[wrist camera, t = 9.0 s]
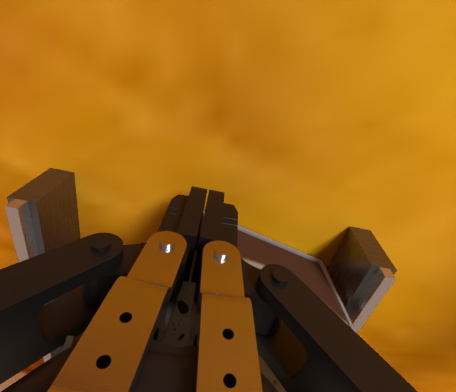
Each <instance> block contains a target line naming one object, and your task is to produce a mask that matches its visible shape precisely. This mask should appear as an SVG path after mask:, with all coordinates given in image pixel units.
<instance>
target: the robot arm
mask: <svg viewBox="0 0 456 392" xmlns="http://www.w3.org/2000/svg"><path fill="white" fill-rule="evenodd" d="M206 193H207V189H203V188H198V187H193V186H192V188H191V191H190V194H189V196H184V195H177V196H176V197H174V198H173V199H172V200H171V202H170V204H169V207H168V209H167V211H166V214H165V216H164V218H163V221H162V223H161V226H160V228H159V230H158V232H157V233H155V234H153V235H152V236H151V237H150V238H149V239H148V241H147V242H146V243H142V244H136V245H123V241H122V240H121V239H120V238H119V237H118V236H116V235H114V234H110V233H97V234H93V235H90V236H87V237H84V238H82V239H79V240H77V241H74V242H71V243H69V244H66V245H63V246H61V247H58V248H56V249H53V250H50V251H48V252H45V253H42V254H40V255H37V256H35V257H32V258H29V259H27V260H24V261H21V262H19V263H16V264H14V265H11V266H8V267H6V268H3V269H1V270H0V384H1V383H3V382H5V381H6V380H8V379H9V378H11V377H12V376H14V375H16V374H17V373H19V372H20V371H22V370H24V369H25V368H27V367H28V366H30V365H32V364H33V363H35V362H36V361H38V360H40V359H41V358H43V357H44V356H46V355H48V354H49V353H51V352H52V351H54V350H55V349H57V348H59V347H60V346H62V345H63V344H65V341H66V338H67V336H74V338H75V337H76V336H78V335H79V334H81V333H83V332H84V331H85V332H84V333H83V335H82V336H81V338H80V340H79V341H78V343H77V345H75V346H72V347H70V348H68V349H66V350H64V351H62V352H60V353H58V354H57V355H55V356H54V357H52V358H50V359H49V360H48V361H46V362H45V363H43V364H42V365H40V366H39V367H37V368H36V369H34V370H33V371H31V372H30V373H28V374H27V375H25V376H24V377H22V378H21V379H19V380H18V381H16V382H15V383H13V384H12V385H10V386H9V387H7V388H6V389H5V390H3V391H2V392H278V391H277V389H276V388H275V387H274V385H273V384H272V383H271V382H270V381H269V379H268V378H267V377H265V376H264V375H263V374H262V373H261V372H260V367H259V359H258V353H259V355H260V356H261V357H262V359H263V360H264V361H265V363H266V364H267V366H268V367H269V368H270V370H271V371H272V372H273V374H274V375H275V377H276V378H277V379H278V381H279V382H280V383H281V385H282V386H283V388H284V389H285V390H286V392H417V391H416V390H415V389H414V388H413V387H412V386H411V385H410V384H409V383H408V382H407V381H406V380H405V379H404V378H403V377H402V376H401V375H400V374H399V373H397V372H396V371H395V370H394V369H393V368H392V367H391V366H390V365H389V364H388V363H387V362H386V361H385V360H384V359H383V358H382V357H381V356H380V355H379V354H378V353H377V352H376V351H374V350H373V349H372V348H371V347H370V346H369V345H368V344H367V343H366V342H365V341H364V340H363V339H362V338H361V337H360V336H359V335H358V334H357V333H356V332H355V331H354V330H353V329H351V328H350V327H349V326H348V325H347V324H346V323H345V322H344V321H343V320H342V319H341V318H340V317H339V316H338V315H337V314H336V313H335V312H334V311H333V310H332V309H331V308H330V307H328V306H327V305H326V304H325V303H324V302H323V301H322V300H321V299H320V298H319V297H318V296H317V295H316V294H315V293H314V292H313V291H312V290H311V289H310V288H309V287H308V286H307V285H305V284H304V283H303V282H302V281H301V280H300V279H299V278H298V277H297V276H296V275H295V274H294V273H293V272H292V271H291V270H289V269H288V268H286V267H284V266H281V265H278V264H268V265H266V266H264V267H263V268H262V269H259V268H257V267H255V266H252V265H250V264H249V263H247V262H246V261H244V260H243V259H242V258H241V256H240V252H239V250H238V249H237V235H238V226H237V225H238V212H237V210H236V208H235V207H234V205H231V204H226V203H223V202H224V192H219V191H214V190H209V194H208V199H207V204H206V209H205V214H204V219H203V224H202V229H201V234H200V239H199V244H198V249H197V254H196V259H195V264H194V270H193V275H192V280H191V282H193V283H196V286H195V291H194V296H193V301H192V312H191V322H190V333H189V344H188V346H187V347H171V346H168V345H166V344H164V339H165V336H166V333H167V330H168V327H169V324H170V321H171V318H172V315H173V312H174V309H175V306H176V303H177V300H178V296H179V293H180V291H181V288H182V284H183V281H187V282H188V281H189V277H190V272H191V267H192V262H193V258H194V253H195V248H196V244H197V239H198V234H199V229H200V225H201V220H202V214H203V209H204V204H205V199H206ZM79 286H81V287H80V288H78V289H76V288H77V287H79ZM74 289H76V290H74ZM72 290H74V291H72ZM70 291H72V292H70ZM68 292H70V293H68ZM66 293H68V294H66ZM64 294H66V295H64ZM62 295H64V296H62ZM60 296H62V297H60ZM58 297H60V298H58ZM56 298H58V299H56ZM54 299H56V300H54ZM52 300H54V301H52ZM50 301H52V302H50ZM48 302H50V303H48ZM47 303H48V304H47ZM45 304H46V305H45Z"/></svg>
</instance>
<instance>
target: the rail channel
mask: <svg viewBox="0 0 456 392" xmlns="http://www.w3.org/2000/svg"><path fill="white" fill-rule="evenodd" d="M7 199H8V204H7V205H6V206H5V209H6V213H7V217H8V221H9V225H10V229H11V233H12V237H13V241H14V245H15V249H16V253H17V257H18V261H19V262H21V261H24V260H27V259H29V258H32V257H35V256H37V255H40V254H42V253H45V252H48V251H50V250H53V249H56V248H58V247H61V246H63V245H66V244H69V243H71V242H74V241H77V240H79V239H80V231H79V220H78V210H77V199H76V189H75V178H74V173H73V172H68V171H63V170H58V169H53V168H50V169H48V170H47V171H45V172H44V173H42V174H41V175H39V176H38V177H36V178H35V179H33V180H32V181H30V182H29V183H27V184H26V185H24V186H23V187H21V188H20V189H18V190H17V191H15V192H14V193H12V194H11V195H9V196H8V197H7ZM327 271H328V273H329V275H330V277H331V280H332V282H333V284H334V286H335V288H336V290H337V292H338V294H339V297H340V299H341V301H342V303H343V305H344V307H345V309H346V311H347V313H348V316H349V318H350V320H351V322H352V324H353V326H354V328H355V330H356V332H357V333H358V331H359V330H360V328H361V327H362V326H363V324H364V323H365V322H366V320H367V319H368V317H369V316H370V315H371V313H372V312H373V310H374V309H375V308H376V306H377V305H378V303H379V302H380V301H381V299H382V298H383V297H384V295H385V294H386V292H387V291H388V290H389V288H390V287H391V285H392V284H393V283H394V281H395V280H396V278H395V276H394V274H395V272H396V271H397V270H396V268H395V267H394V265H393V264H392V262H391V261H390V259H389V258H388V256H387V255H386V253H385V252H384V250H383V249H382V247H381V246H380V244H379V243H378V241H377V240H376V238H375V237H374V235H373V234H372V232H371V231H370V230H365V229H360V228H355V227H349V229H348V231H347V233H346V235H345V236H344V238H343V240H342V242H341V244H340V246H339V248H338V250H337V252H336V254H335V255H334V257H333V259H332V261H331V263H330V265H329V267H328V269H327ZM80 287H81V286H79V287H77V288H76V289H78V288H80ZM76 289H74V290H76ZM74 290H72V291H74ZM72 291H70V292H72ZM70 292H68V293H70ZM68 293H66V294H68ZM66 294H64V295H66ZM64 295H62V296H64ZM62 296H60V297H62ZM60 297H58V298H60ZM58 298H56V299H58ZM56 299H54V300H56ZM54 300H52V301H54ZM52 301H50V302H52ZM50 302H48V303H50ZM48 303H47V304H48ZM45 305H46V304H45ZM84 332H85V331H84ZM84 332H83V333H84ZM83 333H81V334H79V335H78V336H76V337H75V338H74V339H73V344H72V346H75V345H77V343H78V341H79V340H80V338H81V336H82V335H83ZM63 347H64V344H63V345H62V346H60V347H59V348H57V349H55V350H54V351H52V352H51V353H49V354H48V355H46V356H44V357H43V359H44V363H45V362H46V361H48V360H49V359H50V358H52V357H54V356H55V355H57V354H58V353H60V352H62V350H63Z"/></svg>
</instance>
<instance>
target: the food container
mask: <svg viewBox="0 0 456 392" xmlns="http://www.w3.org/2000/svg"><path fill="white" fill-rule="evenodd" d="M204 214H205V211H203V214H202V220H201V225H200V229H199V234H198V239H197V244H196V248H195V253H194V258H193V262H192V267H191V272H190V277H189V281H188V282H187V281H183V284H182V288H181V291H180V293H179V296H178V300H177V303H176V306H175V309H174V312H173V315H172V318H171V321H170V324H169V327H168V330H167V333H166V336H165V339H164V344H166V345H168V346H171V347H187V346H188V344H189V333H190V322H191V312H192V301H193V296H194V291H195V286H196V283H193V282H191V280H192V275H193V270H194V264H195V259H196V254H197V249H198V244H199V239H200V234H201V229H202V224H203V219H204ZM237 226H238V235H237V249H238V250H239V252H240V256H241V258H242V259H243V260H244V261H246V262H247V263H249V264H250V265H252V266H255V267H257V268H259V269H262V268H263V267H264V266H266V265H268V264H278V265H281V266H284V267H286V268H288V269H289V270H291V271H292V272H293V273H294V274H295V275H296V276H297V277H298V278H299V279H300V280H301V281H302V282H303V283H304V284H305V285H307V286H308V287H309V288H310V289H311V290H312V291H313V292H314V293H315V294H316V295H317V296H318V297H319V298H320V299H321V300H322V301H323V302H324V303H325V304H326V305H327V306H328V307H330V308H331V309H332V310H333V311H334V312H335V313H336V314H337V315H338V316H339V317H340V318H341V319H342V320H343V321H344V322H345V323H346V324H347V325H348V326H349V327H350V328H351V329H353V330H354V331H355V332H356V330H355V328H354V326H353V324H352V322H351V320H350V318H349V316H348V313H347V311H346V309H345V307H344V305H343V303H342V301H341V299H340V297H339V294H338V292H337V290H336V288H335V286H334V284H333V282H332V280H331V277H330V275H329V273H328V271H327V269H326V267H325V265H324V263H323V261H322V260H320V259H318V258H315V257H313V256H310V255H308V254H306V253H303V252H301V251H299V250H296V249H294V248H291V247H289V246H287V245H284V244H282V243H280V242H277V241H275V240H272V239H270V238H268V237H265V236H263V235H260V234H258V233H256V232H253V231H251V230H249V229H246V228H244V227H241V226H239V225H237ZM356 333H357V332H356ZM73 339H74V336H67V338H66V341H65V344H64V347H63V350H62V351H64V350H66V349H68V348H70V347H72V344H73ZM258 359H259V367H260V372H261V373H262V374H263V375H264V376H265V377H267V378H268V379H269V381H270V382H271V383H272V384H273V385H274V387H275V388H276V389H277V391H278V392H286V390H285V389H284V388H283V386H282V385H281V383H280V382H279V381H278V379H277V378H276V377H275V375H274V374H273V372H272V371H271V370H270V368H269V367H268V366H267V364H266V363H265V361H264V360H263V359H262V357H261V356H260V355H259V353H258Z"/></svg>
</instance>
